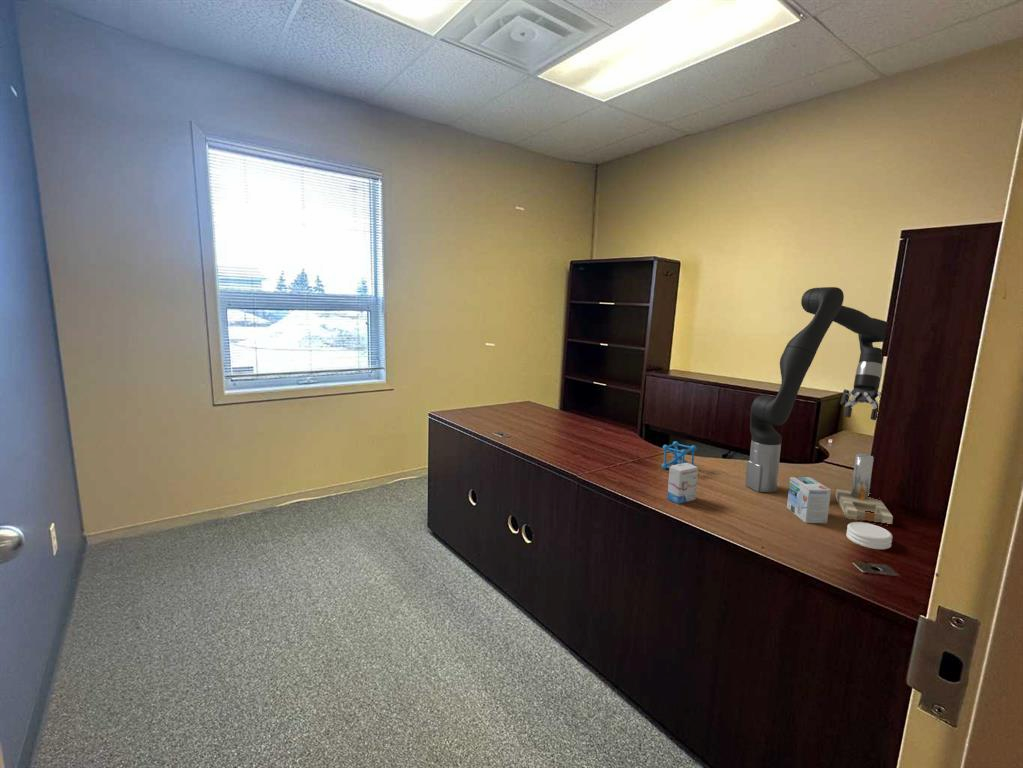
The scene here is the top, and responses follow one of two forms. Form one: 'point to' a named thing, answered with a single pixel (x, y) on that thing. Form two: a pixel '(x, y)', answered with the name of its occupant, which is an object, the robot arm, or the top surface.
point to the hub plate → (863, 508)
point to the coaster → (869, 535)
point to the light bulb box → (808, 499)
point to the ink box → (682, 483)
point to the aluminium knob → (862, 476)
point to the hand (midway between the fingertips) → (860, 418)
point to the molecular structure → (677, 456)
